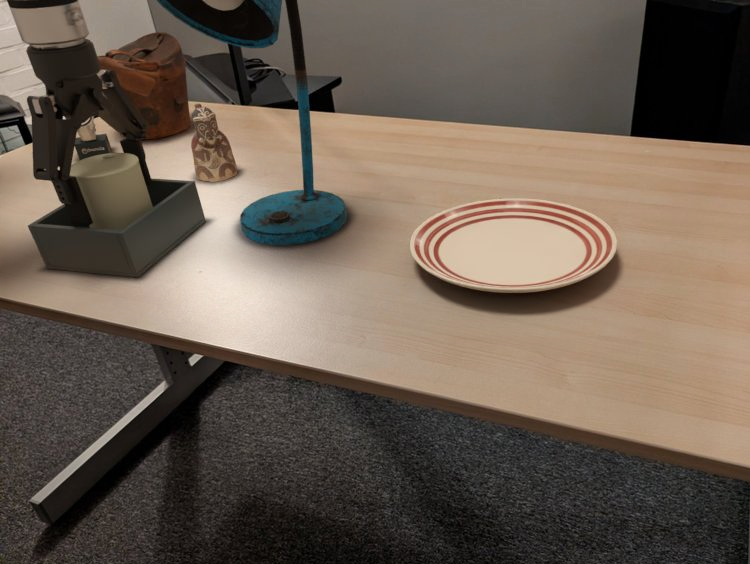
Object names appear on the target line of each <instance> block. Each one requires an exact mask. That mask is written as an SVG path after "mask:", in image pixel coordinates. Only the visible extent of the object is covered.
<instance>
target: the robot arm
mask: <svg viewBox="0 0 750 564" xmlns="http://www.w3.org/2000/svg"><path fill="white" fill-rule="evenodd" d="M6 1H7V5H8V6H9V10H10V12H11V16H12V18H13V20H14V24H15V26H16V28H17V31H18V34H19V37H20V39H21V42H22V43H24V44H26V45H28V46H27V47H26V50H25V52H26V54H27V57H28V60H29V62H30V65H31V67H32V70H33V73H34V75H35V77H36V78H37V79H38V80H40V81H41V82H42V84H43V85H44V88H45V94H44V95H28V96H27V97H26V104H27V106H28V110H29V113H30V117H31V143H32V144H31V145H32V175H33V177H34V179H35V180H37V181H38V180H39V181H48V182H49V181H50V182H51V183H52V186H53V188H54V191H55V193H56V196H57V198H58V200H59V202H60V203H61V205H63V204H64V205H65V207H66V210H67V212H68V215H69V217H70V220H71V222H72V224H81V225H91V224H92V223H93V221H92V218H91V216H90V213H89V210H88V208H87V205H86V203H85V200H84V197H83V195H82V192H81V189H80V187H79V184H78V181H77V179H76V177H74V176H70V170H71V165H72V164H73V157H74V152H75V140H76V138H77V135H78V133H77V130H78V129H80V128H81V125H82V122H84V121H86V120H88V119H89V118H90V117H91V116H94V117H99V118H100V119H101V120H102V121H103V122H104V123H106V124H107V125H108V126H109V127H111V128H112V129H113V130H114V131H115V132H117V133H118V134H119V135H120V136H121V137H122V138H124V139H121V140H119V143H120V146H121V149H122V153H129V154H133V155H135V156H137V157H138V159H139V164H140V167H141V171H142V174H143V177H144V181H145V184H146V185H150V184H152V180H151V178H152V176H151V174H150V170H149V167H148V164H147V160H146V159H147V157H146V152H145V150H144V149H145V148H144V146H143V142H142V140H147V139H146V136H147V134H146V132H145V131H143V130H147V129H148V124H147V123H146V121H145V120H144V118H143V117H142V115H141V114H140V113H139V111H138V110H137V108H136V107H135V105H134V104H133V103H132V101H131V100H130V98H129V97H128V96H127V94H126V93H125V91H124V90H123V88H122V87H121V86H120V83H119V81H118V78H117V75H116V73H115V71H114V70H100V69H101V67H100V63H99V60H98V57H97V56H98V54H97V51H96V48H95V44H94V42H93V41H91V39H88V38H87V37H88V36H89V35H90V31H89V28H88V25H87V22H86V19H85V16H84V13H83V10H82V7H81V3H80V0H6ZM65 118H66V119H65ZM134 120H135V121H134ZM58 168H59V169H58Z"/></svg>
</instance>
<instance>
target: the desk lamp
mask: <svg viewBox="0 0 750 564" xmlns="http://www.w3.org/2000/svg"><path fill="white" fill-rule="evenodd" d="M284 1H285V8H286V13H287V14H286V15H287V20H288V26H289V27H288V28H289V34H290V42H291V49H292V57H293V66H294V74H295V84H296V95H297V107H298V121H299V132H300V133H299V134H300V148H301V149H300V150H301V166H302V167H301V168H302V187H303V189H294V190H288V191H282V192H277V193H272V194H270V195H267V196H264V197H261V198H259V199H257V200H255V201H254V202H252V203H250V204H249V205H247V206H246V207H245V208H244V209H243V210H242V212H241V213H240V215H239V216H240V218H239V219H240V220H239V222H240V226H241V231H242V233H243V234H244V236H245V237H246V238H247V239H249V240H251V241H253V242H257V243H259V244H262V245H268V246H269V245H271V246H293V245H294V246H295V245H301V244H306V243H310V242H314V241H318V240H321V239H323V238H325V237H328V236H331V235H332V234H334V233H335V232H337V231H338V230H340V229H341V228H342V227H343V226H344V225H345V224H346V223H347V222H346V221H347V219H348V214H347V213H348V212H347V207H346V204H345V201H344V199H342V198H341V197H340V196H339V195H337V194H334V193H332V192H328V191H324V190H317V189H315V188H314V186H315V185H314V162H313V161H314V159H313V143H312V141H313V139H312V126H311V112H310V111H311V109H310V99H309V98H310V97H309V83H308V75H307V67H306V66H307V65H306V57H305V49H304V38H303V30H302V22H301V17H300V9H299V4H298V0H284ZM156 2H157V3H158V4H159V5H160V6H161V7H162V8H163V9H165V10H166V11H167V12H168V13H169V14H171V15H172V16H173V17H174V18H175V19H177V20H179V21H180V22H182V23H183V24H185V25H186V26H188V27H189V28H191V29H193V30H195V31H197V32H199V33H201V34H203V35H205V36H207V37H209V38H212V39H214V40H217V41H219V42H221V43H224V44H228V45H230V46H231V45H232V46H234V47H235V46H236V47H239V48H244V49H245V48H246V49H266V48H268V47H271V46H273V45H274V44H275V43H276V42H278V39H279V33H280V24H281V23H280V22H281V13H282V5H283V0H156Z"/></svg>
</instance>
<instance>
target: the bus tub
mask: <svg viewBox="0 0 750 564" xmlns="http://www.w3.org/2000/svg"><path fill="white" fill-rule="evenodd" d="M151 180H152V184H150V185H146V187H147V190H148V193H149V196H150V199H151V203H152V206H153V208H152V209H150V210H149V211H147V212H146V213H145V214H143V215H142V216H140V217H139V218H138V219H136V220H135V221H133V222H132V223H131V224H129V225H128V226H126V227H125V228H124V229H122V230H121V231H120V230H109V229H97V228H90V227H89V225H81V224H72V222H71V220H70V217H69V215H68V212H67V210H66V207H65V205H64V204H61V205H60V206H58V207H56V208H55V209H53V210H52V211H49V212H48V213H46V214H44V215H43V216H41V217H40V218H38V219H36V220H34V221H33V222H31V223H30V224H28V225H27V228H28V230H29V232H30V235H31V236H32V239H33V241H34V243H35V245H36V247H37V250H38V252H39V254H40V257H41V258H42V261H43V263H44V265H45V268H46V269H49V270H58V271H68V272H69V271H70V272H77V273H78V272H79V273H89V274H101V275H109V276H120V277H127V278H129V277H131V278H140V277H141V276H142V275H143V274H144V273H146V272H147V271H149V269H150V268H151V267H152V266H154V265H155V264H156V263H158V262H159V261H160V260H161V259H162V258H164V257H165V256H166V255H167V254H168V253H170V252H171V251H172V250H173V249H174V248H175V247H177V246H178V245H179V244H181V243H182V242H183V241H184V240H185V239H186V238H188V237H189V236H190V235H191V234H192V233H194V232H195V231H196V230H197V229H198V228H200V227H201V226H203V224H204V223H206V220H207V219H206V217H205V213H204V210H203V206H202V202H201V198H200V196H199V191H198V187H197V184H196V181H195V180H183V179H167V178H166V179H165V178H153V177H151Z"/></svg>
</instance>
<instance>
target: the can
mask: <svg viewBox="0 0 750 564" xmlns="http://www.w3.org/2000/svg"><path fill="white" fill-rule="evenodd" d="M70 176H74V177H76V179H77V181H78V184H79V187H80V189H81V192H82V195H83V197H84V200H85V203H86V205H87V208H88V210H89V213H90V216H91V218H92V221H93V223H92V224H91V225H89V227H90V228H97V229H109V230H120V231H121V230H122V229H124V228H125V227H126V226H128V225H129V224H131V223H132V222H133V221H135V220H136V219H138V218H139V217H140V216H142V215H143V214H145V213H146V212H147V211H149V210H150V209H152V208H153V206H152V203H151V199H150V196H149V193H148V190H147V187H146V184H145V181H144V177H143V174H142V171H141V167H140V164H139V159H138V157H137V156H135V155H133V154H129V153H124V152H111V153H108V154H101V155H96V156H92V157H88V158H85V159H82V160H80V159H79V160H78V161H75V162H73V163H72V164H71V170H70Z"/></svg>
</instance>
